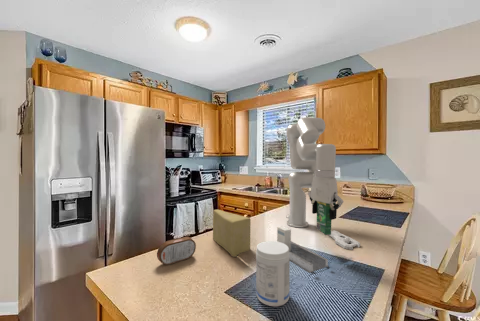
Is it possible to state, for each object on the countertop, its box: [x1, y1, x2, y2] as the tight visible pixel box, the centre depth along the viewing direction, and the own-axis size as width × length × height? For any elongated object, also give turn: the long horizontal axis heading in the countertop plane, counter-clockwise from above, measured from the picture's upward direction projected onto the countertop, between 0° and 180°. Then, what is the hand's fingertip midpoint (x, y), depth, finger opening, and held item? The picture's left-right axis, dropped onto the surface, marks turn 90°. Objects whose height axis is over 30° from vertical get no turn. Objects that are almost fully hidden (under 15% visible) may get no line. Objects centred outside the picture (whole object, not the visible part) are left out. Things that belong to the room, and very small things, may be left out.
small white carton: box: [276, 225, 292, 251], centre depth 94 cm, size 5×3×9 cm, turn 29°
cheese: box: [212, 209, 252, 258], centre depth 99 cm, size 22×10×15 cm, turn 39°
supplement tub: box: [255, 240, 290, 307], centre depth 63 cm, size 10×10×15 cm
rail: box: [289, 240, 330, 277], centre depth 87 cm, size 10×22×4 cm, turn 29°
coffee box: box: [316, 201, 332, 236], centre depth 91 cm, size 8×3×13 cm, turn 6°
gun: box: [328, 229, 361, 251], centre depth 105 cm, size 18×4×10 cm
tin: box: [156, 236, 197, 266], centre depth 85 cm, size 15×3×8 cm, turn 129°
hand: (323, 215), depth 91 cm, fingers closed on coffee box, 8 cm apart
